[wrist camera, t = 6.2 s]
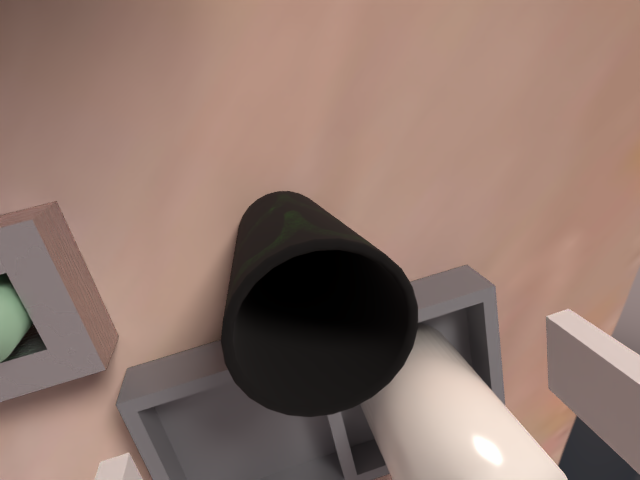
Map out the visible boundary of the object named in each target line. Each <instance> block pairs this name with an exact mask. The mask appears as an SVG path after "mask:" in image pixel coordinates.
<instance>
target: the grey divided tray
mask: <svg viewBox="0 0 640 480" xmlns="http://www.w3.org/2000/svg"><path fill="white" fill-rule="evenodd" d="M410 283H411V285H412V286H413V290H414V293H415V297H416V300H417V304H418V323H419V324H425V325H428V326H431V327H433V328H435V329H437V330H438V331H439V332H441V333H442V334H443V335H444V336H445V337H446V339H447V340H448V341H449V342H450V343H451V344H452V345H453V347H454V348H455V349H456V350H457V351H458V352H459V353H460V355H461V356H462V357H463V358H464V359H465V360H466V361H467V363H468V364H469V365H470V366H471V367H472V368H473V370H474V371H475V372H476V373H477V374H478V375H479V376H480V378H481V379H482V380H483V381H484V382H485V383H486V384H487V386H488V387H489V388H490V389H491V390H492V391H493V392H494V394H495V395H496V396H497V397H498V398H499V399H500V400H501V402H502V403H503V404H504V405H505V397H504V385H503V373H502V361H501V349H500V337H499V324H498V312H497V300H496V288H495V285H494V284H492V283H491V282H490V281H488V280H487V279H486V278H484V277H483V276H482V275H480V274H479V273H478V272H476V271H475V270H474V269H472V268H471V267H470V266H468V265H464V266H461V267H458V268H454V269H451V270H448V271H445V272H441V273H438V274H435V275H431V276H428V277H425V278H422V279H418V280H415V281H412V282H410ZM116 406H117V408H118V410H119V412H120V414H121V416H122V418H123V420H124V422H125V424H126V427H127V429H128V431H129V433H130V435H131V437H132V439H133V441H134V443H135V445H136V447H137V449H138V451H139V453H140V455H141V457H142V459H143V461H144V463H145V465H146V467H147V469H148V471H149V473H150V475H151V477H152V479H153V480H373V479H376V478H379V477H382V476H385V475H388V474H390V473H389V470H388V468H387V466H386V463H385V461H384V459H383V456H382V454H381V452H380V449H379V447H378V445H377V443H376V440H375V438H374V436H373V433H372V431H371V429H370V426H369V424H368V422H367V419H366V417H365V415H364V412H363V410H362V408H361V405H360V404H359V405H357V406H355V407H353V408H351V409H348V410H344V411H341V412H338V413H335V414H332V415H324V416H315V417H302V416H290V415H285V414H282V413H279V412H276V411H272V410H269V409H267V408H265V407H263V406H262V405H260V404H258V403H257V402H255V401H253V400H252V399H250V398H249V397H248V396H247V395H246V394H245V393H244V392H243V391H242V390H241V389H240V388H239V387H238V386H237V385H236V384H235V382H234V380H233V379H232V377H231V375H230V373H229V371H228V369H227V367H226V365H225V362H224V356H223V351H222V346H221V340H219V341H215V342H212V343H209V344H206V345H202V346H199V347H196V348H192V349H189V350H186V351H183V352H179V353H176V354H173V355H170V356H166V357H163V358H160V359H156V360H153V361H150V362H147V363H143V364H140V365H137V366H134V367H130V368H127V371H126V374H125V377H124V380H123V383H122V386H121V390H120V393H119V396H118V399H117V402H116Z"/></svg>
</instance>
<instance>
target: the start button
mask: <svg viewBox="0 0 640 480" xmlns="http://www.w3.org/2000/svg"><path fill="white" fill-rule="evenodd" d="M32 325H33V322H32V320H31V318H30V316H29V314H28V312H27V311H26V309H25V307H24V305H23V303H22V301H21V299H20V298H19V296H18V294H17V292H16V290H15V288H14V286H13V285H12V283H11V281H10V279H9V277H8V275H7V273H4V274H0V362H2V361H4V360H5V359H6V358H7V357H8V356H9V355H10V354H11V352H12V351H13V350H14V348H15V347H16V346H17V344H18V343H19V342H20V340H21V339H22V338H23V336H24V335H25V334H26V332H27V331H28V330H29V329H30V327H31V326H32Z"/></svg>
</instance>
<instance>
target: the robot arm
mask: <svg viewBox="0 0 640 480" xmlns="http://www.w3.org/2000/svg"><path fill="white" fill-rule="evenodd" d="M546 330H547V358H548V386H549V389H550V390H551V391H552V392H553V393H554V394H555V395H556V396H557V397H558V398H559V399H560V400H561V401H562V402H563V403H564V404H565V405H567V406H568V407H569V408H570V409H571V410H572V411H573V412H574V413H575V414H576V415H577V416H578V417H579V418H580V419H581V420H582V421H584V422H585V423H586V424H587V425H588V426H589V427H590V428H591V429H592V430H593V431H594V432H595V433H596V434H597V435H598V436H599V437H600V438H602V439H603V440H604V441H605V442H606V443H607V444H608V445H609V446H610V447H611V448H612V449H613V450H614V451H615V452H616V453H617V454H618V455H620V456H621V457H622V458H623V459H624V460H625V461H626V462H627V463H628V464H629V465H630V466H631V467H632V468H633V469H635V471H637V472H638V473H639V474H640V355H638V354H636V353H635V352H634V351H632V350H631V349H629V348H628V347H626V346H625V345H623V344H622V343H620V342H618V341H617V340H615V339H614V338H612V337H611V336H609V335H608V334H606V333H605V332H603V331H602V330H600V329H599V328H597V327H596V326H594V325H593V324H591V323H590V322H588V321H587V320H585V319H584V318H582V317H581V316H579V315H578V314H576V313H575V312H573V311H572V310H570V309H567V310H563V311H560V312H557V313H554V314H551V315H548V316H546ZM95 480H143V479H142V477H141V475H140V473H139V471H138V469H137V467H136V465H135V463H134V461H133V459H132V457H131V455H130V453H126V454H123V455H120V456H116V457H113V458H110V459H107V460H104V461H101V462H100V464H99V467H98V470H97V474H96V477H95Z"/></svg>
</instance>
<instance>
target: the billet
mask: <svg viewBox="0 0 640 480" xmlns="http://www.w3.org/2000/svg"><path fill="white" fill-rule="evenodd" d="M360 405H361V408H362V410H363V412H364V415H365V417H366V419H367V422H368V424H369V426H370V429H371V431H372V433H373V436H374V438H375V440H376V443H377V445H378V447H379V449H380V452H381V454H382V456H383V459H384V461H385V463H386V466H387V468H388V470H389V473H390V475H391V477H392V480H568V479H567V477H566V476H565V474H564V473H563V472H562V471H561V469H560V468H559V467H558V466H557V465H556V464H555V462H554V461H553V460H552V459H551V458H550V457H549V456H548V454H547V453H546V452H545V451H544V450H543V449H542V447H541V446H540V445H539V444H538V443H537V442H536V441H535V439H534V438H533V437H532V436H531V435H530V434H529V433H528V431H527V430H526V429H525V428H524V427H523V426H522V425H521V423H520V422H519V421H518V420H517V419H516V418H515V417H514V415H513V414H512V413H511V412H510V411H509V410H508V408H507V407H506V406H505V405H504V404H503V403H502V402H501V400H500V399H499V398H498V397H497V396H496V395H495V394H494V392H493V391H492V390H491V389H490V388H489V387H488V386H487V384H486V383H485V382H484V381H483V380H482V379H481V378H480V376H479V375H478V374H477V373H476V372H475V371H474V370H473V368H472V367H471V366H470V365H469V364H468V363H467V361H466V360H465V359H464V358H463V357H462V356H461V355H460V353H459V352H458V351H457V350H456V349H455V348H454V347H453V345H452V344H451V343H450V342H449V341H448V340H447V339H446V337H445V336H444V335H443V334H442V333H441V332H439V331H438V330H437V329H435V328H433V327H431V326H428V325H425V324H419V323H418V330H417V334H416V338H415V342H414V346H413V348H412V350H411V352H410V354H409V356H408V358H407V360H406V362H405V364H404V366H403V367H402V368H401V370H400V371H399V372H398V373H397V375H396V376H395V377H394V378H393V380H392V381H391V382H390V383H389V384H388V385H387V386H385V387H384V388H383V389H382V390H381V391H379V392H378V393H377V394H376V395H375V396H373V397H372V398H370V399H368V400H366V401H364V402H363V403H361V404H360Z"/></svg>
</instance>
